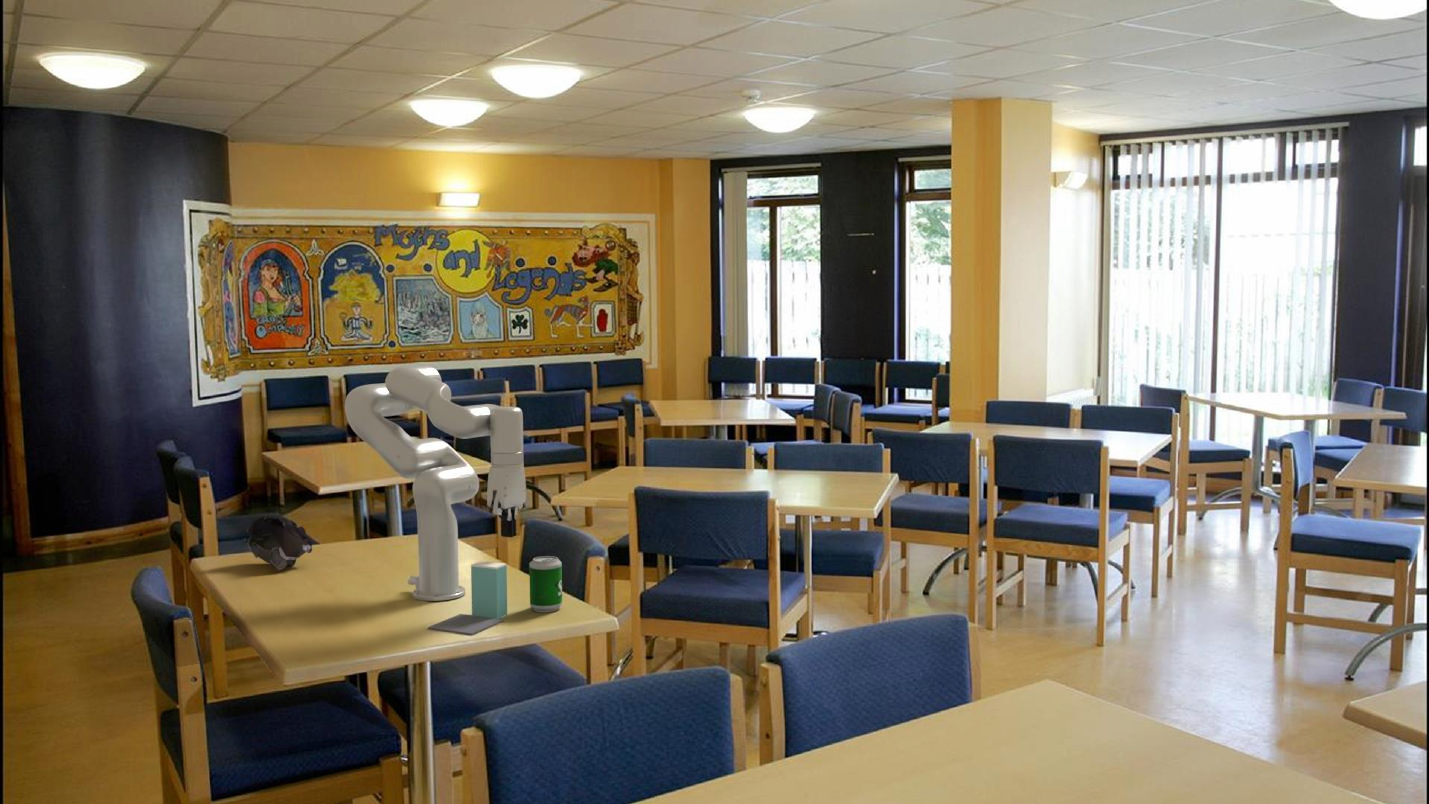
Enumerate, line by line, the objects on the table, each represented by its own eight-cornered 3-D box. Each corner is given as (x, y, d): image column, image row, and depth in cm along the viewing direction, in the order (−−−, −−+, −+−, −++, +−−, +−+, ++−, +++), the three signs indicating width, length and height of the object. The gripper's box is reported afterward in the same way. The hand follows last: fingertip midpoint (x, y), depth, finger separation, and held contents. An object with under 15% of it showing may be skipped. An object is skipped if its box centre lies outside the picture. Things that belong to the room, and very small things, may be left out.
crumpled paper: (322, 562, 314) (275, 557, 324) (315, 510, 312) (267, 507, 322) (280, 577, 302) (232, 572, 312) (272, 524, 300) (224, 520, 310)
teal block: (471, 615, 263) (471, 564, 262) (482, 611, 266) (481, 561, 265) (497, 619, 260) (496, 567, 259) (507, 614, 264) (506, 563, 263)
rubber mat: (427, 628, 252) (427, 627, 252) (460, 615, 263) (460, 613, 263) (472, 635, 247) (472, 633, 247) (504, 621, 258) (504, 619, 258)
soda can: (555, 614, 264) (555, 563, 263) (525, 612, 266) (524, 561, 265) (566, 605, 272) (566, 556, 271) (536, 603, 273) (535, 554, 272)
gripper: (511, 454, 276) (513, 529, 277) (475, 462, 262) (476, 541, 264) (538, 456, 273) (539, 531, 274) (502, 464, 259) (503, 543, 261)
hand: (508, 536), depth 269 cm, fingers closed
